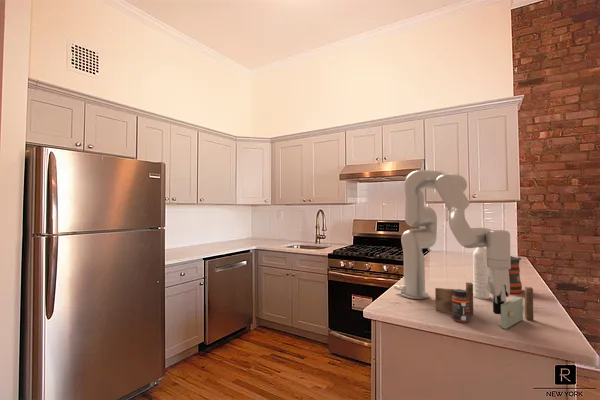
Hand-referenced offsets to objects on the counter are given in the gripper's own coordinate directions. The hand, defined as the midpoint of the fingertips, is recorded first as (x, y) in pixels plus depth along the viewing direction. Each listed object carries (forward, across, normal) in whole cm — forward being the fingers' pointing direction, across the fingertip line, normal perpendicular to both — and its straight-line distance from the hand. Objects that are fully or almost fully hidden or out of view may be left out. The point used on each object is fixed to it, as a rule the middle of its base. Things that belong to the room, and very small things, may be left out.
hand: (498, 313), depth 115 cm
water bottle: (+4, -34, +4) cm, 35 cm away
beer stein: (+4, -50, +17) cm, 53 cm away
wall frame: (+4, -8, -3) cm, 9 cm away
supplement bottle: (+4, 0, -13) cm, 13 cm away
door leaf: (+3, 0, +5) cm, 6 cm away
